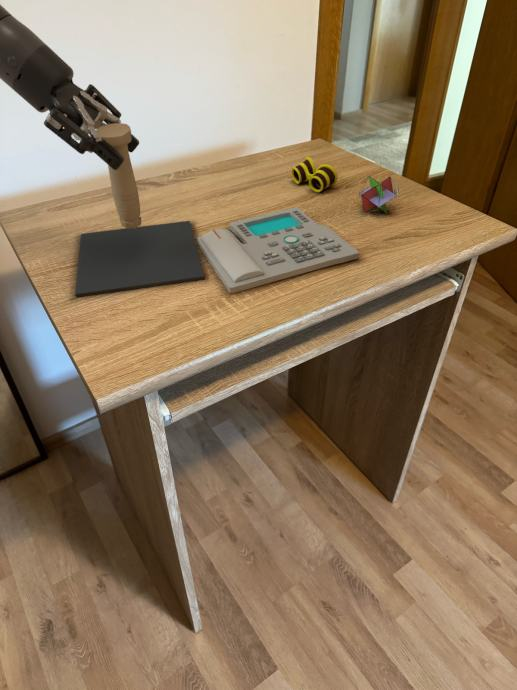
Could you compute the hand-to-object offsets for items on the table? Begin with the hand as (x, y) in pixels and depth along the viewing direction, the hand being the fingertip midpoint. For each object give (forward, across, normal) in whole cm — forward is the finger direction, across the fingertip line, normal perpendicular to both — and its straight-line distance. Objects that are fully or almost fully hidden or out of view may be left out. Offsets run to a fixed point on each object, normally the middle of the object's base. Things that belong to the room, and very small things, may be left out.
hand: (128, 156), depth 72 cm
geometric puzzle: (+40, -21, +16) cm, 48 cm away
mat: (+11, 0, -13) cm, 17 cm away
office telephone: (+27, -5, +2) cm, 27 cm away
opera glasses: (+31, -33, +7) cm, 46 cm away
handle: (+7, 0, -9) cm, 12 cm away
